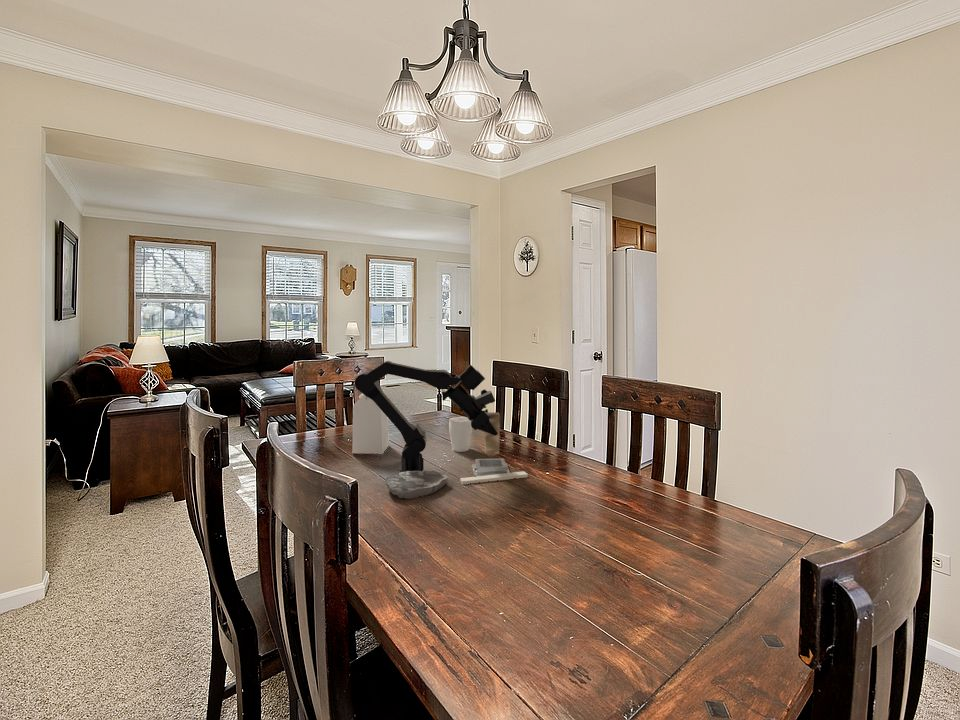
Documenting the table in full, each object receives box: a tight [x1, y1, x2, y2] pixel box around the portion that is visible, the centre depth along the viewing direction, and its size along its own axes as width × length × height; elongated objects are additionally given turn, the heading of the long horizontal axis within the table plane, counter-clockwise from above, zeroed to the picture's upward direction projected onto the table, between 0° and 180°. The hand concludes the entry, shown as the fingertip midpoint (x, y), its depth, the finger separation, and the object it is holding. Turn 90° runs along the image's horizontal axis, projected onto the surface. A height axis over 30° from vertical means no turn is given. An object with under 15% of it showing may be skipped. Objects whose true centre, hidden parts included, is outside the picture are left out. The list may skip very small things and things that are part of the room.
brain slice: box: [384, 470, 449, 500], centre depth 149 cm, size 20×17×3 cm
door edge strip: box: [459, 471, 529, 485], centre depth 157 cm, size 22×3×1 cm, turn 107°
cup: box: [448, 416, 473, 453], centre depth 190 cm, size 9×9×12 cm
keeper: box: [471, 457, 511, 477], centre depth 166 cm, size 12×11×3 cm
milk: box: [351, 393, 390, 455], centre depth 189 cm, size 12×12×26 cm
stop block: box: [484, 411, 501, 455], centre depth 164 cm, size 5×5×13 cm
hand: (496, 432), depth 164 cm, fingers closed on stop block, 4 cm apart
